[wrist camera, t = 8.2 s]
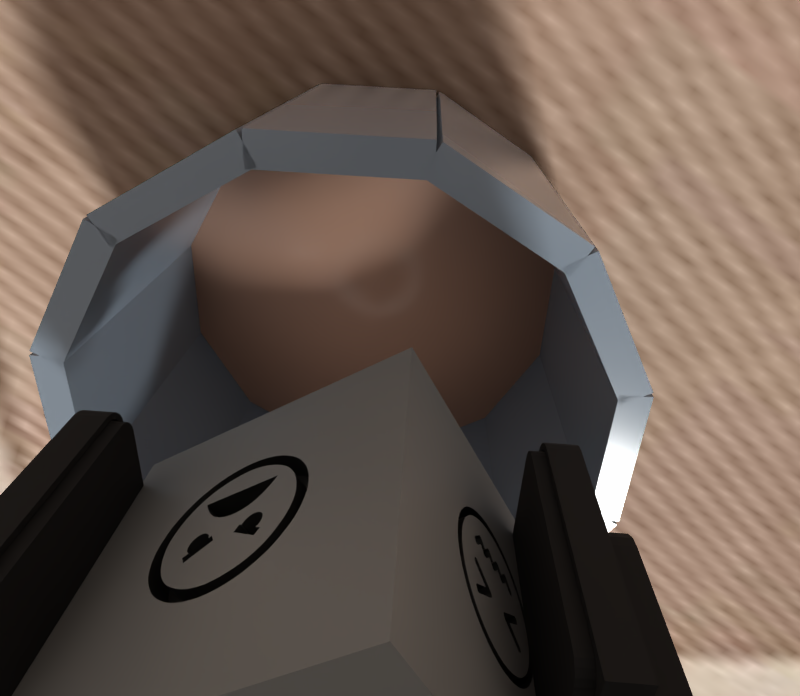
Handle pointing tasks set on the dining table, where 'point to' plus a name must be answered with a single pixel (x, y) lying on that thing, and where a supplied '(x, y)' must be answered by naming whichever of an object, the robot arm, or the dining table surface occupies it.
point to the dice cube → (306, 562)
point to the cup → (349, 288)
